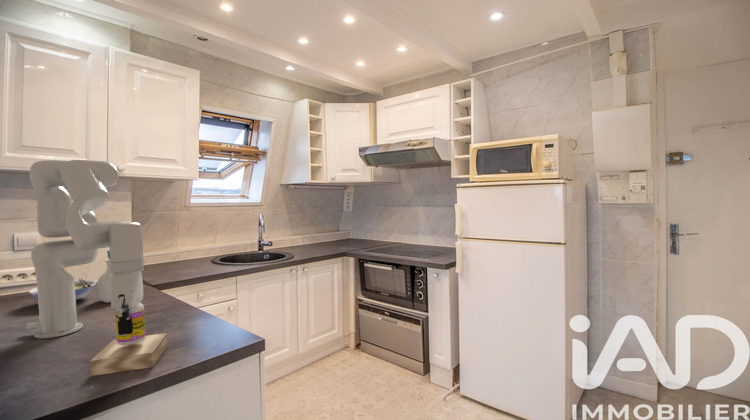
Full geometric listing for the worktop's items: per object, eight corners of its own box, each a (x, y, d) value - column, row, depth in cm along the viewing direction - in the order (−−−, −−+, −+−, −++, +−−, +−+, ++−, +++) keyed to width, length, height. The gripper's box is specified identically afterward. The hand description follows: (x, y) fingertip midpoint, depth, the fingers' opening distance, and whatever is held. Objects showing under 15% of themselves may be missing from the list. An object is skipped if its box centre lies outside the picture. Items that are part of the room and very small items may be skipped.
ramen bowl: (29, 302, 157) (28, 284, 157) (94, 291, 173) (93, 275, 173) (29, 315, 139) (27, 295, 139) (101, 302, 155) (100, 283, 155)
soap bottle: (130, 298, 160) (127, 249, 158) (105, 304, 151) (102, 252, 150) (121, 295, 165) (118, 247, 164) (96, 301, 157) (93, 251, 156)
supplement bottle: (130, 347, 95) (128, 300, 94) (110, 345, 96) (108, 299, 95) (151, 337, 101) (149, 293, 101) (132, 335, 103) (129, 292, 102)
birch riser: (91, 375, 90) (90, 360, 90) (114, 352, 104) (113, 339, 103) (152, 367, 94) (152, 352, 94) (167, 345, 108) (167, 333, 107)
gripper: (124, 261, 105) (127, 320, 106) (96, 274, 88) (100, 343, 89) (152, 259, 107) (155, 317, 108) (131, 271, 90) (134, 339, 91)
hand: (130, 328), depth 99 cm, fingers closed on supplement bottle, 6 cm apart
